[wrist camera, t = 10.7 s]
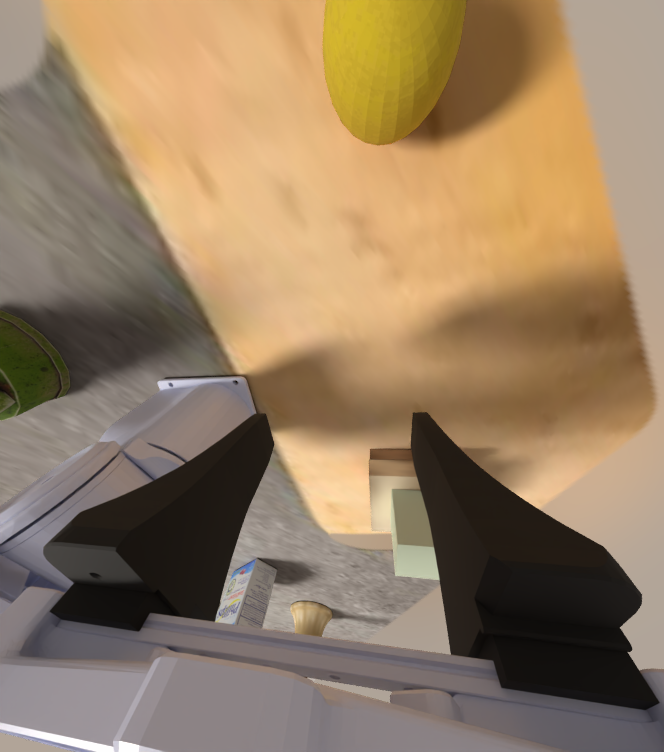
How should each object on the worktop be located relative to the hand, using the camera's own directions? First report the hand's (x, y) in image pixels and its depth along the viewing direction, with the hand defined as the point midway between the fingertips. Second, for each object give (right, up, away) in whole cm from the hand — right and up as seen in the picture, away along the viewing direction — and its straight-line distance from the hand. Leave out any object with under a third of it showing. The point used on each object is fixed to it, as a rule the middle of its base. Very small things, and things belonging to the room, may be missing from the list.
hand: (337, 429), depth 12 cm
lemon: (+3, +18, +2) cm, 19 cm away
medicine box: (-14, -31, +31) cm, 46 cm away
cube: (+8, -11, +13) cm, 18 cm away
